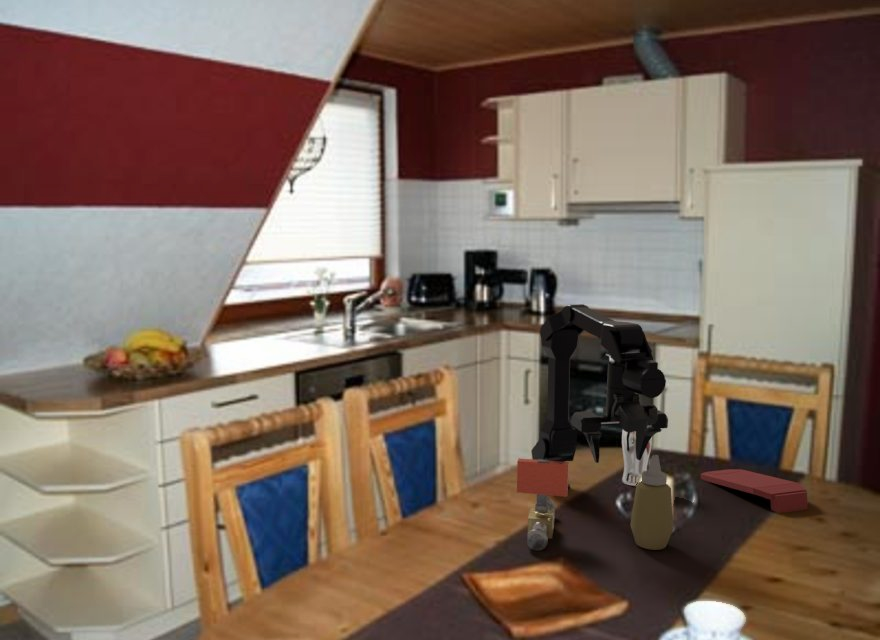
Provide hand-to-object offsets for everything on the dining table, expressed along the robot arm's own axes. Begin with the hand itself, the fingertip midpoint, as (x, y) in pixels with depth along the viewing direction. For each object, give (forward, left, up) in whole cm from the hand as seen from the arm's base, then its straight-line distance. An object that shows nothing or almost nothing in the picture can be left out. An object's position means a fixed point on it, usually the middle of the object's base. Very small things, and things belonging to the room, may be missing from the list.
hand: (617, 460), depth 162 cm
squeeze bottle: (+10, +1, -14) cm, 17 cm away
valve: (-3, -16, -14) cm, 21 cm away
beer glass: (-21, +20, -14) cm, 33 cm away
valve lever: (-3, -16, -9) cm, 18 cm away
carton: (-6, +42, -15) cm, 45 cm away
